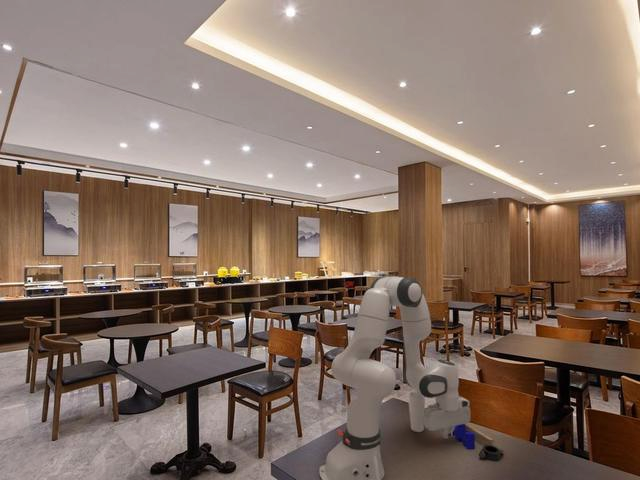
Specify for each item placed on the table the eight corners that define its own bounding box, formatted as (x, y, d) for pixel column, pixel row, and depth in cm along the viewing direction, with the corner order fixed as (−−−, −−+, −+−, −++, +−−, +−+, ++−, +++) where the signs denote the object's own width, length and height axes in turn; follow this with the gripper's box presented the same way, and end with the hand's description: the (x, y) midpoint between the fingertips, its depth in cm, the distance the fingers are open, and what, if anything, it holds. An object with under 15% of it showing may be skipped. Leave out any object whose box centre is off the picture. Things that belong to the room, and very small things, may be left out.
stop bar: (481, 453, 133) (481, 442, 133) (439, 425, 155) (439, 415, 155) (493, 450, 135) (493, 439, 136) (450, 422, 157) (450, 413, 157)
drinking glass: (407, 430, 150) (406, 395, 151) (411, 424, 156) (411, 389, 157) (423, 435, 147) (422, 398, 147) (427, 428, 153) (426, 392, 153)
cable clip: (452, 433, 148) (452, 419, 148) (463, 434, 148) (463, 419, 148) (462, 449, 136) (462, 434, 136) (474, 450, 136) (474, 434, 136)
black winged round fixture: (509, 465, 126) (509, 456, 126) (479, 461, 128) (479, 453, 129) (503, 453, 134) (503, 445, 134) (474, 450, 136) (474, 442, 136)
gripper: (430, 409, 135) (431, 446, 134) (472, 401, 142) (473, 436, 142) (420, 402, 141) (420, 438, 140) (461, 395, 148) (462, 429, 147)
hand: (447, 437), depth 141 cm, fingers closed
